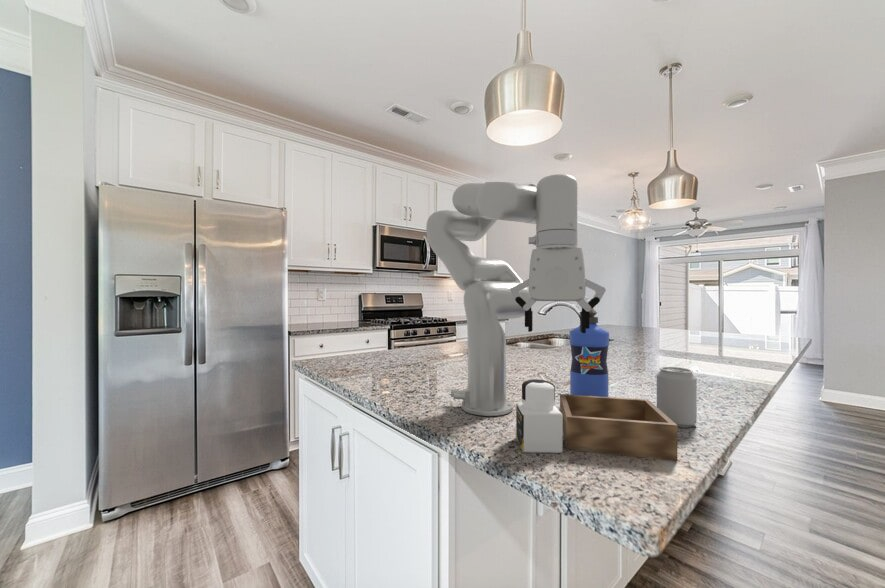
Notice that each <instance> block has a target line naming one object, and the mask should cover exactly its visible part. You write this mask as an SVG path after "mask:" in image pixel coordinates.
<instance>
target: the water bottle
mask: <svg viewBox="0 0 885 588" xmlns="http://www.w3.org/2000/svg"><path fill="white" fill-rule="evenodd" d="M597 314H598V311H596V310H595V309H594V308H593V309H591V311H589V329H586V333H581V332H580V325H578V327H576V328H573V329H571V330H569V344H570V345H569V347H570V353H571V364H570V365H571V366H570V371H569V372H570V373H569V381H570V382H569V384H570V385H569V387H570V388H569V395H583V396H599V397H609V369H608V362H607V359H608V353H609V346H610V332H609V331H607V330H605V329H603V328H602V327H600V326H599V325H598V324H599V316H596V315H597Z"/></svg>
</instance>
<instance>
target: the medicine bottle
mask: <svg viewBox="0 0 885 588" xmlns="http://www.w3.org/2000/svg"><path fill="white" fill-rule="evenodd" d="M515 406H516V407H515V409H516V410H515V412H516V413H515V414H516V415H515V416H516V419H515V421H516V424H515V425H516V428H515V429H516V430H515V436H516V439H517V442H518V444H519V446H520V448H521V451H522V452H523V453H526V454H527V453H529V454H531V453H535V454H537V453H538V454H546V453H547V454H562V453H563V432H562V413H561V412H560V409H559V408H557V407H556V386H555V384H554V383H552V382H551V381H548V380H545V379H537V378H536V379H527V380H526V381H523V383H521V401H517V402H516V404H515Z"/></svg>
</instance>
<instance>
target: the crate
mask: <svg viewBox="0 0 885 588" xmlns="http://www.w3.org/2000/svg"><path fill="white" fill-rule="evenodd" d="M559 411H560V412H561V413H562V437H563V439H564V444H565V449H566V451H574V452H584V453H586V452H587V453H594V454H605V455H615V456H627V457H637V458H646V459H647V458H648V459H657V460H668V461H678V427H677V424H675V423H674V422H673V421H672V420H671V419H670V418H669V417H668V416H666V415H665V414H664V413H663V412H662V411H661V410H660V409H658V408H657V405H655V404H654V403H653V402H652V401H651V400H649V399H647V398H633V397H632V398H629V397H612V396H608V397H599V396H583V395H570V394H566V393H564V394H563V393H560V394H559Z"/></svg>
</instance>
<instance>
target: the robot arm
mask: <svg viewBox="0 0 885 588" xmlns="http://www.w3.org/2000/svg"><path fill="white" fill-rule="evenodd" d="M452 204H453V205H452V206H453V207H454V208H455V210H448V209H447V210H446V209H445V210H438V211H434V212H432V213H431V214H430V215H429V216H428V219H427V221H426V224H425V225H426V229H425V230H426V231H425V232H426V236H427V241H428V244H429V246H430V248H431V250H432V252H433V253H434V254H435V255H436V256H437V257H438V258H439V260H440V261H441V262H442V263H443V265H444V266H445V268H446V270H447V271H448V273H449V275H450V276H451V277H452V279H453V281H454V282H455V284H456V286H457V287H459V289H460V290H461V291H463V292H464V293H463V306H464V311H465V317H466V325H467V326H466V327H467V328H466V329H467V387H466V388H463V390H460V389H450V397H451V398H453V399H454V400H462V401H461V410H462V411H464V412H466V413H469V414H471V415H475V416H476V415H477V416H483V417H497V416H503V415H508V414H509V413H511V412H512V411H513V408H514V407H513V406H514V405H513V403H512V402H511V401H509V400H508V399H507V337H506V333H505V330H504V328H503V327H502V325H501V323H500V321H499V320H513V319H520V318H523V317H524V328H527V331H528V332H529V333H530V332H532V331H533V326H534V325H533V318H534V317H533V314H534V313H533V310H532V307H533V306H534V304H535V303H536V302H576V303H577V304H578V305H579V306H580V307H581V311H580V312H579V326H580V332H581V333H586V329H589V311H591V309H594V308H595V307H596V306H597V305H598V304H599V303H600V302H601V299H602V298H603V296H604V294H605V293H606V288H605V287H604V286H602V285H599V284H597V283H595V282H593V281H591V280H589V279H588V278H586V269H585V259H584V253H583V249H582V248H581V247H578V181H577V179H576V178H575V177H574V176H572V175H570V174H565V173H564V174H562V173H559V174H552V175H551V174H550V175H548V176H544V177H542V178H541V179H540V180H539V181H538V182H537V183H536V186H533V185H528V184H523V183H515V182H509V181H508V182H507V181H486V182H484V183H483V182H482V183H481V182H480V183H479V182H478V183H476V182H470V183H467V182H466V183H465V184H464V183H463V184H461V185H459V186H458V187H456V188H455V190H454V192H453V193H452ZM497 221H506V222H507V221H508V222H514V223H515V222H517V223H525V224H531V225H532V224H534V225H536V226H535V227H536V228H535V231H536V234H535V235H534V236H530V237H528V245H533V246H535V248H533V249H532V250H531V254H530V259H529V260H530V261H529V275H528V279H526V280H524V281H523V280H522V279H521V277H520V276H519V275H518V274H517V273H516V272H515V271H514V269H513V268H512V267H511V266H510V265H509V263H507V262H506V261H504V260H502V259H499V258H492V257H491V258H490V257H480V256H477V255H476V254H474V253H473V251H472V250H471V249H470V247H469V246H468V245H467V244H465V243H464V242H476V241H479V240H481V239H482V238H483V237H484V236H485V235H486V234H487V233H488V232H489V230H490V229H491V228H492V227H493V226H494V225H495V223H496V222H497ZM586 288H588V289H589V290H592V291H594V292H595V293H594V295H593V297H592V298H591V299H590V300H589V301H586V299H585V297H586V292H587V291H586Z"/></svg>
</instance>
